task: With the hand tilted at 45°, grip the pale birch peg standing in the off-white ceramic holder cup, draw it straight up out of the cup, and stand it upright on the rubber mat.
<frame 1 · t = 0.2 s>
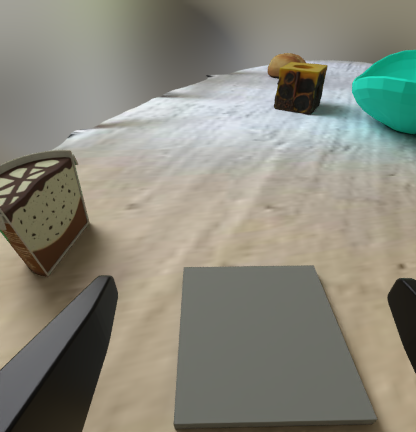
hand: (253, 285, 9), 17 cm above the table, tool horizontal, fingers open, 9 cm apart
food container: (48, 245, 35), on the table
bread roll: (285, 78, 104), on the table
rubber mat: (258, 332, 25), on the table
table top decor: (406, 128, 65), on the table
candle: (296, 107, 77), on the table
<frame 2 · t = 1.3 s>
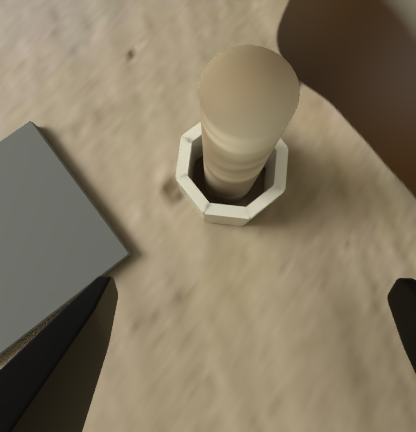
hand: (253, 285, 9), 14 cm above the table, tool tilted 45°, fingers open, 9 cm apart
birch peg: (235, 150, 17), in the holder cup
rubber mat: (12, 239, 23), on the table
holder cup: (228, 179, 23), on the table
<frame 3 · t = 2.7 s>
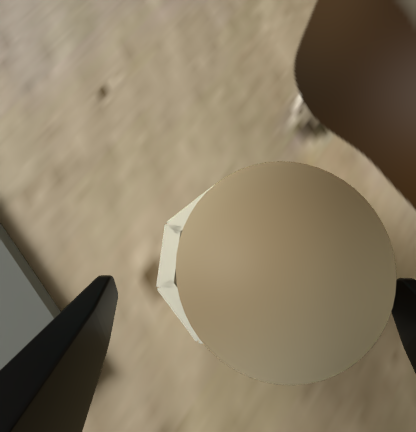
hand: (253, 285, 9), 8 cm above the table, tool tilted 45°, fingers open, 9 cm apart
birch peg: (244, 263, 11), in the holder cup
holder cup: (232, 263, 17), on the table
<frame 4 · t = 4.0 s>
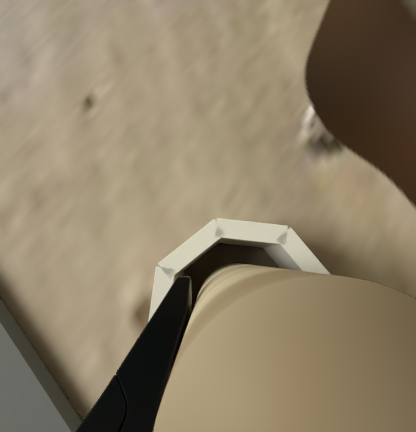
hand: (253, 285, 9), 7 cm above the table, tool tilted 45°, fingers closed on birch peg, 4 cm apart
birch peg: (252, 327, 9), in the holder cup, touching gripper
holder cup: (235, 300, 15), on the table
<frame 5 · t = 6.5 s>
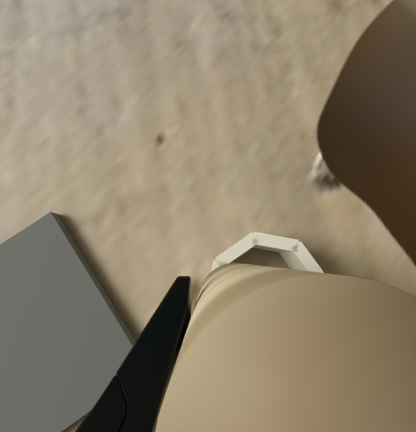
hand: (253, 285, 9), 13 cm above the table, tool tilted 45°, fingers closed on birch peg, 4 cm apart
birch peg: (252, 327, 9), point 13 cm above the table, touching gripper
rubber mat: (24, 339, 22), on the table
holder cup: (257, 287, 22), on the table
when the fingers open (9 cm above the table, at t = 8.8 s): birch peg drops 1 cm, resting on rubber mat.
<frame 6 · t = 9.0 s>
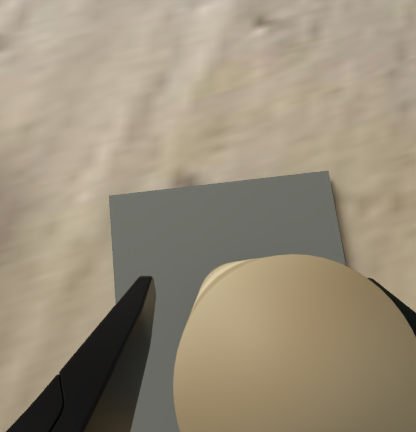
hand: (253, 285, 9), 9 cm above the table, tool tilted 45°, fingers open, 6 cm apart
birch peg: (247, 314, 11), on the rubber mat, point 7 cm above the table
rubber mat: (231, 294, 18), on the table
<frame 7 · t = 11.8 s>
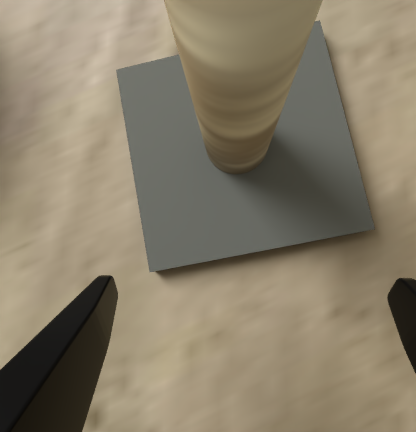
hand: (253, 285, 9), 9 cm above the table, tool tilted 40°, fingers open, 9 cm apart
birch peg: (238, 91, 12), on the rubber mat, point 7 cm above the table
rubber mat: (236, 149, 19), on the table
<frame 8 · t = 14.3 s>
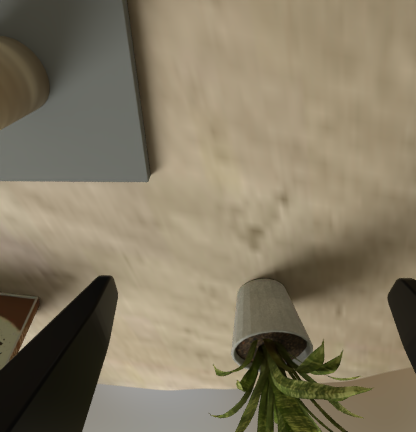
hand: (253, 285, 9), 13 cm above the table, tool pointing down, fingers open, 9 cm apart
food container: (1, 307, 32), on the table
house plant: (269, 299, 30), on the table
rubber mat: (23, 73, 17), on the table
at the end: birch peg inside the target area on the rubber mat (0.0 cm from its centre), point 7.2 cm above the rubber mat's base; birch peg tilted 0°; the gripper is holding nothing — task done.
